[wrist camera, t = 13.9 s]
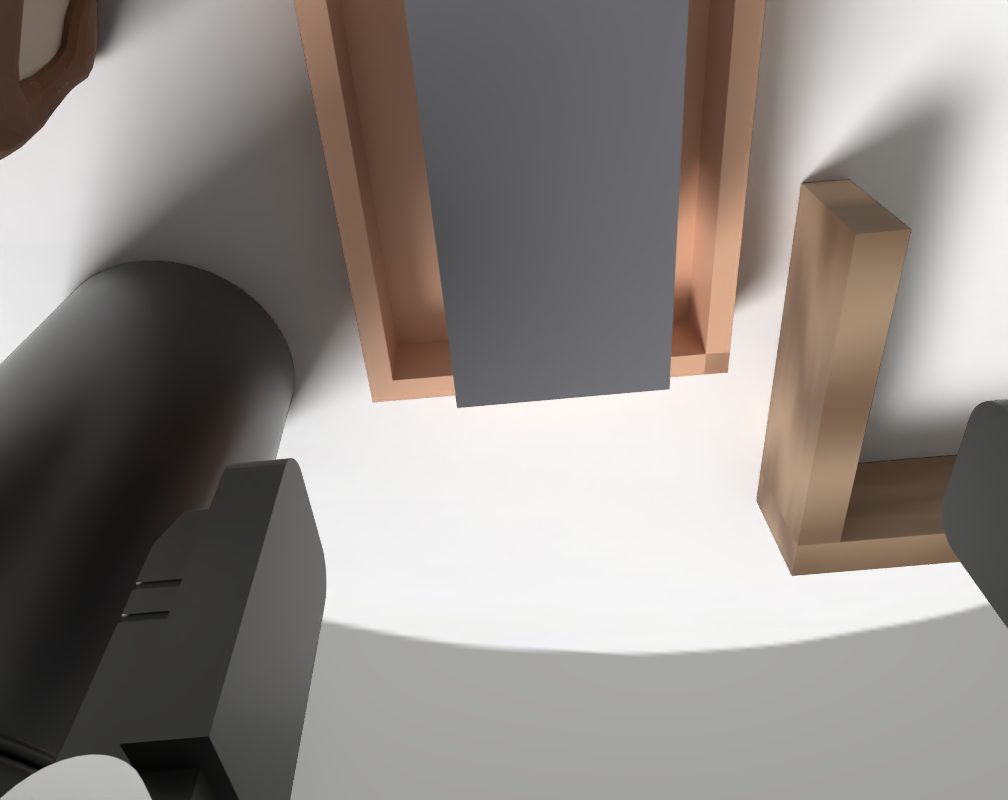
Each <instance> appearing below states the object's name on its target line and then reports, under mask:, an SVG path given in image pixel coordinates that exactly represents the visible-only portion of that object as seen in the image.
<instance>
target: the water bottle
mask: <svg viewBox="0 0 1008 800" xmlns="http://www.w3.org/2000/svg"><path fill="white" fill-rule="evenodd" d="M293 388H294V369H293V363H292V358H291V354H290V351H289V348H288V346H287V344H286V341H285V339H284V337H283V335H282V333H281V332H280V330H279V328H278V327H277V325H276V324H275V323H274V321H273V320H272V318H271V317H270V316H269V315H268V314H267V312H266V311H265V310H264V309H263V308H262V307H261V306H260V305H259V304H258V303H257V302H256V301H254V300H253V299H252V298H251V297H250V296H249V295H247V294H246V293H245V292H243V291H242V290H240V289H239V288H237V287H236V286H234V285H233V284H231V283H229V282H228V281H226V280H224V279H222V278H220V277H218V276H216V275H214V274H211V273H209V272H206V271H204V270H201V269H198V268H194V267H191V266H187V265H182V264H177V263H171V262H161V261H142V262H133V263H127V264H122V265H118V266H115V267H112V268H109V269H106V270H104V271H102V272H99V273H98V274H96V275H94V276H92V277H91V278H89V279H88V280H86V281H85V282H84V283H82V284H81V285H80V286H79V287H78V288H77V289H76V290H75V291H74V292H73V293H72V294H71V295H70V296H69V297H68V298H67V299H66V300H65V301H64V302H63V303H62V304H61V305H60V306H59V307H58V308H57V309H56V310H55V311H54V312H53V313H52V314H51V315H50V316H48V317H47V318H46V319H45V320H44V321H43V322H42V323H41V324H40V325H39V326H38V327H37V328H36V329H35V330H34V331H33V332H32V333H31V334H30V335H29V336H28V337H27V338H26V339H25V340H24V341H23V342H22V343H21V344H20V345H19V346H18V347H17V348H16V349H15V350H14V351H13V352H12V353H11V354H10V355H9V356H8V357H7V358H6V359H5V360H4V361H3V362H2V363H1V364H0V798H1V797H3V796H4V795H5V794H6V793H7V792H8V791H10V790H11V789H12V788H13V787H14V786H16V785H17V784H19V783H20V782H21V781H23V780H24V779H26V778H27V777H29V776H30V775H32V774H34V773H36V772H37V771H39V770H41V769H43V768H45V767H47V766H49V765H52V764H54V763H55V761H56V759H57V757H58V755H59V753H60V752H61V750H62V748H63V745H64V743H65V741H66V739H67V736H68V734H69V732H70V730H71V727H72V725H73V723H74V721H75V718H76V716H77V714H78V712H79V709H80V707H81V705H82V703H83V700H84V698H85V696H86V694H87V691H88V689H89V687H90V685H91V682H92V680H93V678H94V676H95V673H96V671H97V669H98V667H99V664H100V662H101V660H102V658H103V655H104V653H105V651H106V649H107V646H108V644H109V642H110V640H111V637H112V635H113V633H114V630H115V628H116V626H117V624H118V623H121V622H122V612H123V610H124V608H125V606H126V603H127V601H128V599H129V597H130V594H131V592H132V590H136V581H137V579H138V576H139V574H140V572H141V570H142V567H143V565H144V563H145V561H146V558H147V556H148V554H149V552H150V549H151V547H152V545H153V544H154V543H155V542H156V541H157V540H158V539H159V538H160V536H161V535H162V534H163V533H164V532H165V531H166V530H167V529H168V528H169V527H170V526H171V525H172V524H173V523H174V522H175V521H176V520H177V519H178V518H179V517H180V516H181V515H182V514H183V512H184V511H191V510H203V509H209V507H210V505H211V502H212V500H213V497H214V494H215V492H216V489H217V487H218V484H219V481H220V479H221V476H222V473H223V471H224V469H225V468H226V466H227V465H229V464H231V463H242V462H254V461H266V460H276V456H277V452H278V448H279V444H280V441H281V437H282V433H283V429H284V425H285V421H286V417H287V414H288V410H289V406H290V402H291V398H292V394H293Z"/></svg>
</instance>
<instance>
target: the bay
mask: <svg viewBox="0 0 1008 800" xmlns="http://www.w3.org/2000/svg"><path fill="white" fill-rule="evenodd" d="M910 233H911V229H910V228H909V227H908V226H907V225H905V224H904V223H903V222H902V221H900V220H899V219H898V218H897V217H895V216H894V215H893V214H892V213H890V212H889V211H888V210H887V209H885V208H884V207H883V206H882V205H880V204H879V203H878V202H877V201H875V200H874V199H873V198H872V197H870V196H869V195H868V194H867V193H866V192H864V191H863V190H862V189H861V188H859V187H858V186H857V185H856V184H854V183H853V182H852V181H851V180H849V179H848V180H836V181H824V182H812V183H801V190H800V197H799V204H798V211H797V218H796V225H795V232H794V239H793V246H792V253H791V260H790V267H789V274H788V282H787V289H786V296H785V303H784V310H783V317H782V324H781V331H780V338H779V345H778V352H777V359H776V366H775V373H774V380H773V387H772V394H771V401H770V409H769V416H768V423H767V430H766V437H765V444H764V451H763V458H762V465H761V472H760V479H759V486H758V493H757V500H756V501H757V503H758V505H759V507H760V509H761V511H762V513H763V516H764V518H765V520H766V522H767V524H768V526H769V528H770V530H771V533H772V535H773V537H774V539H775V541H776V543H777V545H778V548H779V550H780V552H781V554H782V556H783V558H784V560H785V562H786V565H787V567H788V569H789V571H790V573H791V575H792V576H796V575H808V574H820V573H832V572H844V571H855V570H867V569H879V568H891V567H903V566H915V565H927V564H938V563H950V562H960V561H959V559H958V558H957V556H956V555H955V554H954V552H953V550H952V549H951V547H950V545H949V543H948V540H947V538H946V535H945V531H944V527H943V521H942V505H943V499H944V496H945V493H946V489H947V486H948V483H949V480H950V477H951V474H952V471H953V468H954V465H955V462H956V458H957V455H953V456H942V457H930V458H918V459H906V460H894V461H882V462H871V463H859V464H858V461H859V456H860V452H861V448H862V443H863V439H864V435H865V430H866V426H867V421H868V417H869V413H870V408H871V404H872V399H873V395H874V391H875V386H876V382H877V378H878V373H879V369H880V364H881V360H882V356H883V351H884V347H885V342H886V338H887V334H888V329H889V325H890V320H891V316H892V312H893V307H894V303H895V299H896V294H897V290H898V285H899V281H900V277H901V272H902V268H903V263H904V259H905V255H906V250H907V246H908V242H909V237H910Z"/></svg>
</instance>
